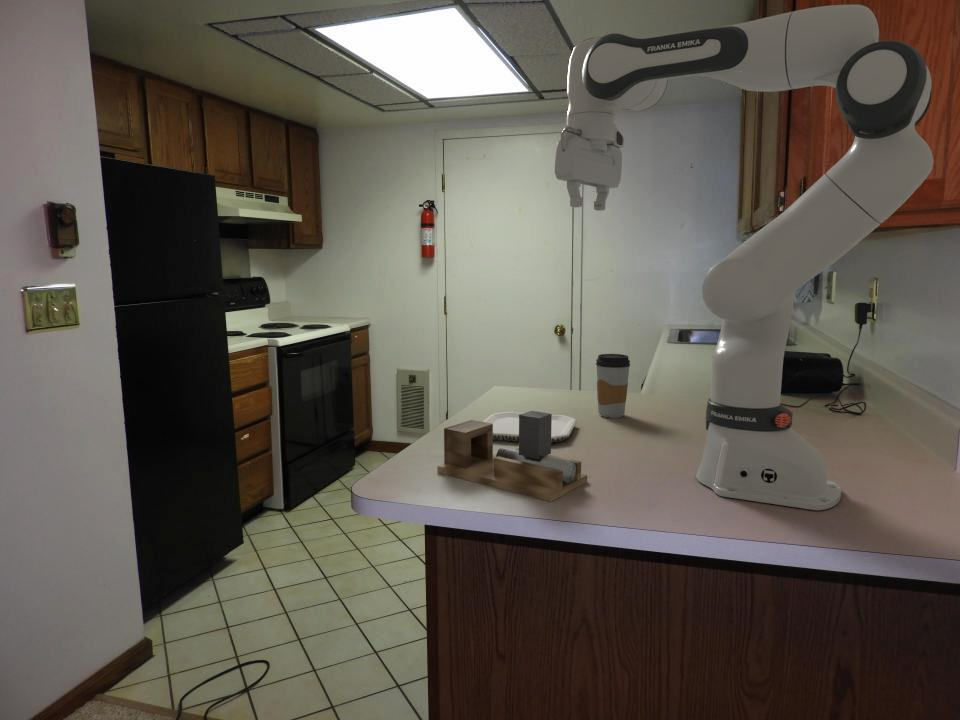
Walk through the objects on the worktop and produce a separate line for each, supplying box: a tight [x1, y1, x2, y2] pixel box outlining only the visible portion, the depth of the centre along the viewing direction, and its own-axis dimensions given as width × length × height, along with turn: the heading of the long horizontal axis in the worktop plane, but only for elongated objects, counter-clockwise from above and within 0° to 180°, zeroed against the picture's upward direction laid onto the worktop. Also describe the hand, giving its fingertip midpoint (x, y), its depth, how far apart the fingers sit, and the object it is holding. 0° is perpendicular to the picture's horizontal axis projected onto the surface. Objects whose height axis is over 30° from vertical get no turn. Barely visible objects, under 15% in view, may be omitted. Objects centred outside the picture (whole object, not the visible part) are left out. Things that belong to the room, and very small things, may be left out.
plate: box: [482, 411, 578, 444], centre depth 146 cm, size 21×21×2 cm
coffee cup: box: [595, 353, 631, 419], centre depth 160 cm, size 8×8×15 cm
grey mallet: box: [495, 410, 576, 483], centre depth 111 cm, size 14×4×11 cm, turn 52°
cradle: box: [437, 419, 588, 503], centre depth 114 cm, size 24×12×8 cm, turn 52°
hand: (588, 208), depth 124 cm, fingers open, 8 cm apart
